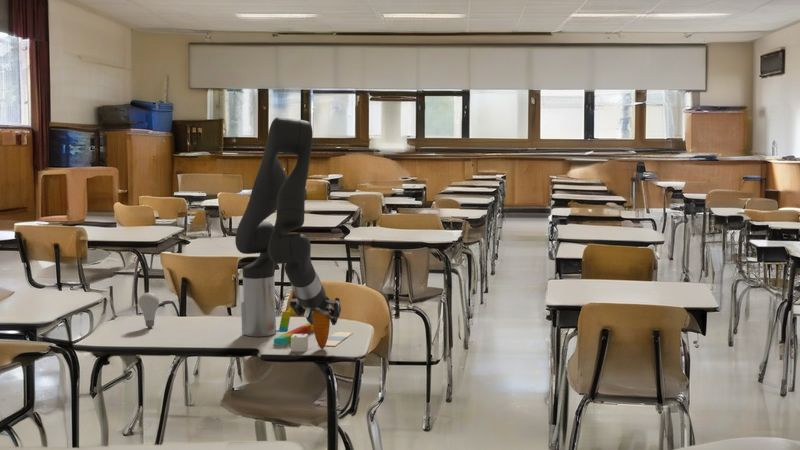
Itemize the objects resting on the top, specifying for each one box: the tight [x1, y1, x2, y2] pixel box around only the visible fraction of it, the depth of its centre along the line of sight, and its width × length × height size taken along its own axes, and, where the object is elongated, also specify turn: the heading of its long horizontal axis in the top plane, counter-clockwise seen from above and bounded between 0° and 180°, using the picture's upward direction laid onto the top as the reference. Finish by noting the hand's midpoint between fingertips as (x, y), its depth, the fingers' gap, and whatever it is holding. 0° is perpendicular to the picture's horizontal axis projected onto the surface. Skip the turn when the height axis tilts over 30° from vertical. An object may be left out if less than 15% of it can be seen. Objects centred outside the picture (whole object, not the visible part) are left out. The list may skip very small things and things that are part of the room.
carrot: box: [312, 298, 331, 350], centre depth 256 cm, size 5×5×15 cm
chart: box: [273, 290, 314, 346], centre depth 276 cm, size 30×3×15 cm, turn 160°
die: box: [290, 333, 309, 352], centre depth 257 cm, size 4×4×4 cm
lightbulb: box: [138, 292, 160, 329], centre depth 287 cm, size 6×6×11 cm
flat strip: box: [317, 331, 354, 347], centre depth 268 cm, size 5×16×1 cm, turn 165°
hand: (323, 321), depth 258 cm, fingers open, 5 cm apart
